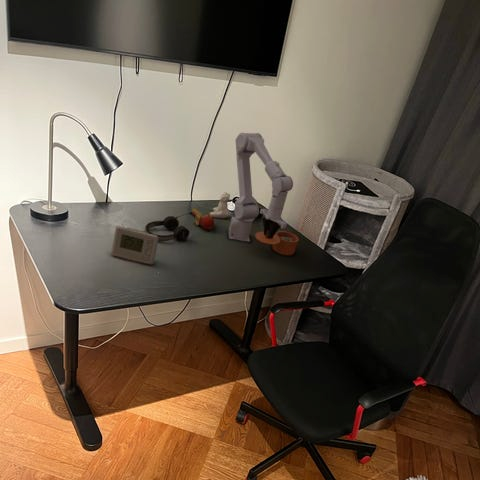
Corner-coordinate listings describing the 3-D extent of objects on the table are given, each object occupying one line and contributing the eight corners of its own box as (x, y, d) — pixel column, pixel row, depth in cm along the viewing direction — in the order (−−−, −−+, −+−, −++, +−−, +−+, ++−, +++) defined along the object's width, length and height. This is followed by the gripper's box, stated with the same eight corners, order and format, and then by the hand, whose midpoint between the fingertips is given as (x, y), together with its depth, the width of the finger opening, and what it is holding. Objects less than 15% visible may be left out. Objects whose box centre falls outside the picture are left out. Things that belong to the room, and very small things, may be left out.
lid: (255, 243, 194) (258, 233, 191) (253, 232, 203) (256, 222, 200) (281, 247, 196) (283, 238, 193) (277, 236, 204) (280, 227, 202)
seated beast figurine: (213, 210, 231) (218, 186, 224) (230, 215, 230) (235, 191, 223) (208, 216, 223) (213, 192, 216) (226, 221, 222) (231, 197, 216)
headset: (199, 217, 193) (154, 225, 184) (197, 238, 199) (153, 247, 190) (183, 203, 202) (139, 210, 192) (182, 224, 208) (140, 231, 198)
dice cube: (289, 253, 208) (292, 243, 205) (278, 251, 208) (281, 240, 205) (288, 248, 212) (291, 238, 209) (278, 246, 212) (280, 236, 209)
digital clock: (108, 255, 174) (110, 229, 168) (120, 246, 181) (123, 221, 175) (148, 269, 172) (151, 243, 166) (159, 260, 179) (162, 234, 173)
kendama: (184, 217, 219) (200, 229, 206) (188, 204, 217) (204, 215, 204) (199, 220, 224) (215, 232, 210) (203, 207, 221) (219, 219, 208)
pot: (273, 253, 205) (277, 239, 201) (270, 243, 213) (274, 229, 209) (295, 257, 207) (300, 243, 203) (292, 247, 215) (296, 233, 211)
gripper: (257, 199, 192) (250, 229, 200) (281, 214, 184) (272, 245, 192) (270, 198, 197) (262, 227, 204) (293, 213, 188) (284, 243, 196)
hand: (268, 236), depth 198 cm, fingers closed on lid, 2 cm apart
